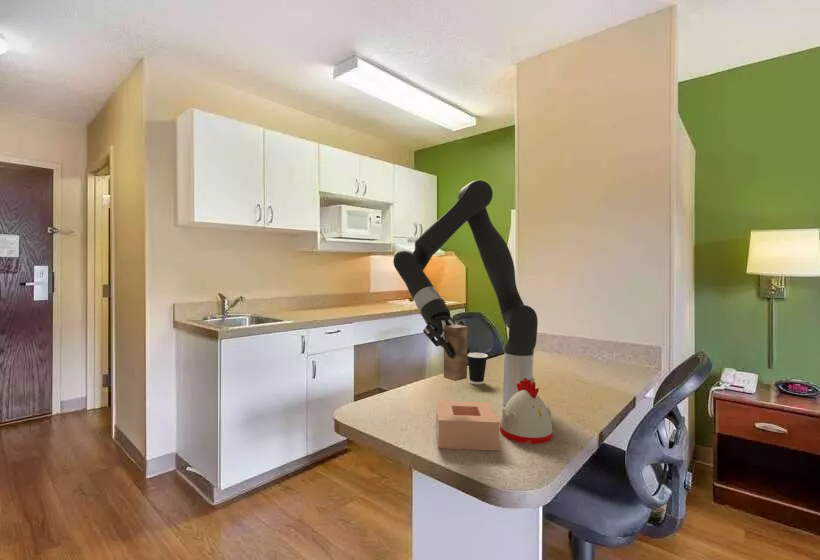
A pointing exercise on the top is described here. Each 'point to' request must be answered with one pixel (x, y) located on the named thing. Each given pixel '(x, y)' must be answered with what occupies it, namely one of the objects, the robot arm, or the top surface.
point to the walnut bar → (458, 364)
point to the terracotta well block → (466, 425)
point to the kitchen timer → (526, 416)
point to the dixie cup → (477, 367)
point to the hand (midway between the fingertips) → (460, 355)
